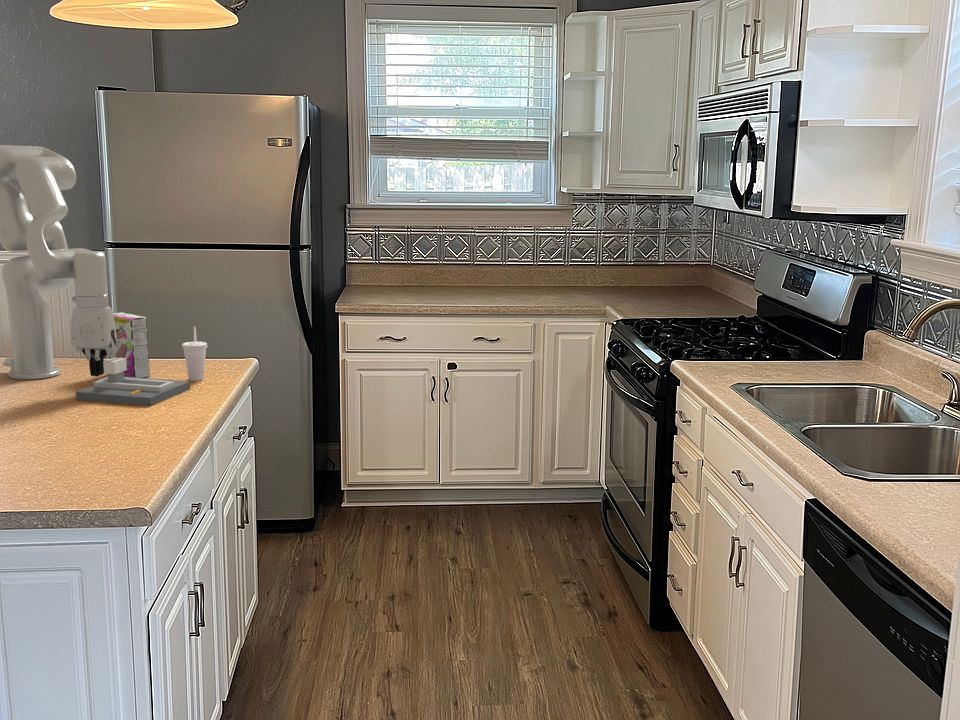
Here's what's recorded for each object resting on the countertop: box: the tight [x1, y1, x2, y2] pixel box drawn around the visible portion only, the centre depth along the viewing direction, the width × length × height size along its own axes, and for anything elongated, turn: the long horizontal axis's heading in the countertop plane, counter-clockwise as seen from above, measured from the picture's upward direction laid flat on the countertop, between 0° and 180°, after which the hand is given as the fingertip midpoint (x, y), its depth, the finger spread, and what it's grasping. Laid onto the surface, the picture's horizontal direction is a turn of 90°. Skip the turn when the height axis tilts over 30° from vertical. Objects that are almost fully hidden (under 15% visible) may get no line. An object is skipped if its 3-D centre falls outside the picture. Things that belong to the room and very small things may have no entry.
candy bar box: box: [109, 312, 151, 378], centre depth 255 cm, size 11×5×16 cm, turn 54°
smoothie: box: [181, 326, 208, 382], centre depth 252 cm, size 6×6×14 cm
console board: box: [75, 376, 191, 407], centre depth 236 cm, size 20×18×3 cm
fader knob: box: [103, 357, 127, 383], centre depth 236 cm, size 3×5×6 cm, turn 167°
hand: (97, 375), depth 238 cm, fingers closed
